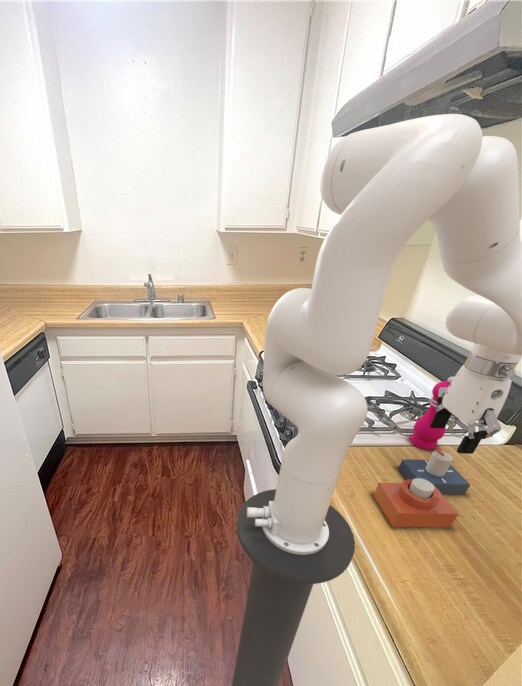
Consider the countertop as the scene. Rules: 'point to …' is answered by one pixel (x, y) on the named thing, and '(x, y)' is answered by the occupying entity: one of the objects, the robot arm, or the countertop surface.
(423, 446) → the pepper mill
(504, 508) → the countertop surface
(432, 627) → the countertop surface
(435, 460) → the grey dial knob
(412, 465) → the tap panel
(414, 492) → the push button
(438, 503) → the orange button housing
